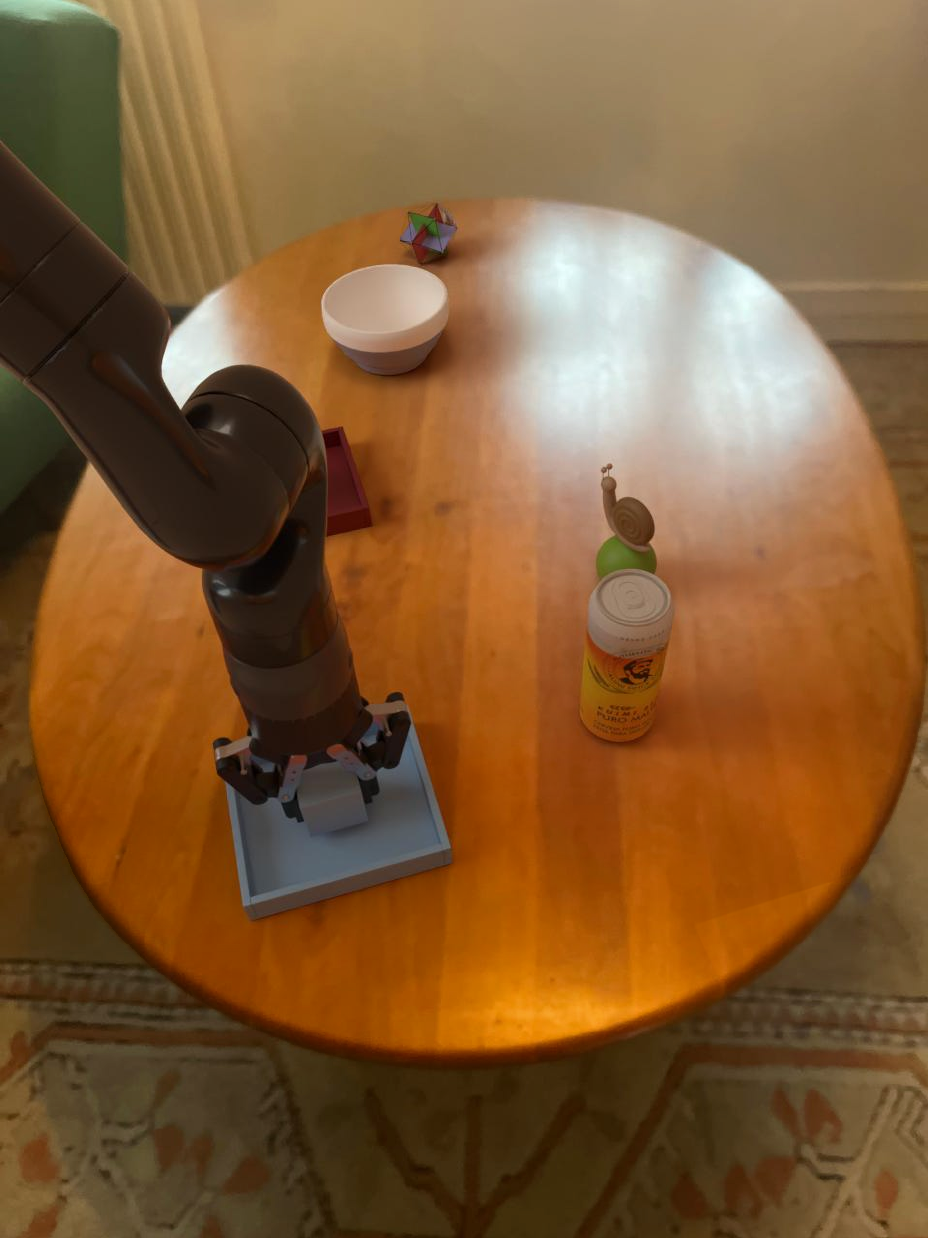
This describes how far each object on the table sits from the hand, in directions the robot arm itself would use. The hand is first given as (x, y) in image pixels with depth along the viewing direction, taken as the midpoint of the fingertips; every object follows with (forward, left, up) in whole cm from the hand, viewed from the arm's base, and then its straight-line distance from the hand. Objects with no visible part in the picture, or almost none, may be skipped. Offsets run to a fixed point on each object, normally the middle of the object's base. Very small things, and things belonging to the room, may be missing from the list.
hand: (333, 802), depth 73 cm
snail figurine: (+30, +16, -2) cm, 34 cm away
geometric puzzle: (+28, +78, -2) cm, 83 cm away
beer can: (+24, +2, -2) cm, 24 cm away
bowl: (+18, +58, -2) cm, 61 cm away
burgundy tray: (+2, +37, -2) cm, 37 cm away
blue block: (0, 0, 0) cm, 0 cm away
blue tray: (0, 0, -2) cm, 2 cm away
